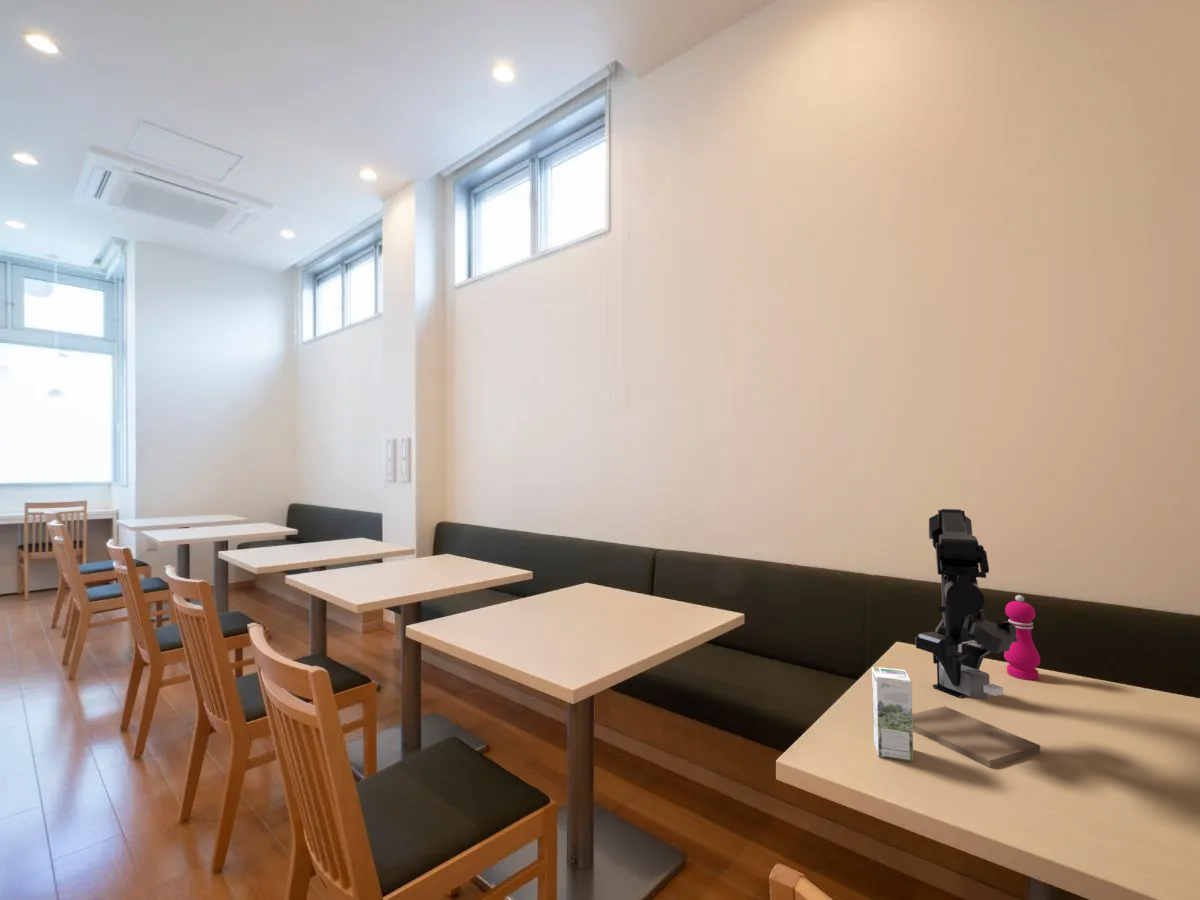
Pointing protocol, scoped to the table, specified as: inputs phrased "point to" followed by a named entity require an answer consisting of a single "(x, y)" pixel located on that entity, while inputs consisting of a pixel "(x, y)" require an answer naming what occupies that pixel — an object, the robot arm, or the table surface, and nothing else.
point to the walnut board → (972, 736)
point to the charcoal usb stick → (971, 683)
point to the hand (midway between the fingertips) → (963, 684)
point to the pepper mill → (1022, 641)
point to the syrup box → (892, 713)
